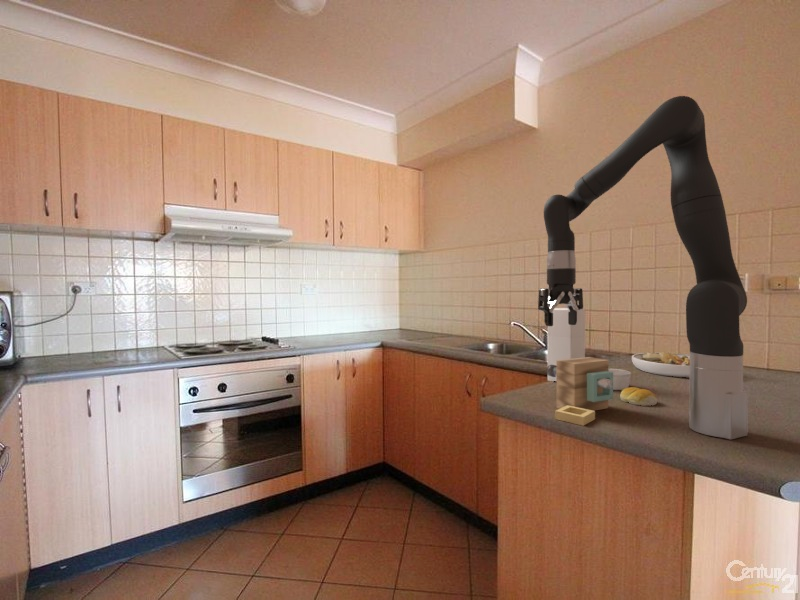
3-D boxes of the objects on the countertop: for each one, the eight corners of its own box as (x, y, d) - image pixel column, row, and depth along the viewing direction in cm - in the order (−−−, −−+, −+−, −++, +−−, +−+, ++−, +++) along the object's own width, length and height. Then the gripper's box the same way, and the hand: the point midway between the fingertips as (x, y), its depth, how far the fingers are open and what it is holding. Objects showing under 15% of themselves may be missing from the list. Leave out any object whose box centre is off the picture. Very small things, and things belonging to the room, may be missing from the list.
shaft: (613, 390, 99) (613, 376, 99) (603, 391, 98) (603, 378, 98) (555, 375, 117) (555, 364, 117) (546, 376, 116) (546, 365, 116)
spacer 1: (595, 419, 97) (595, 410, 97) (583, 425, 92) (583, 417, 92) (567, 412, 102) (567, 405, 102) (555, 419, 97) (555, 410, 97)
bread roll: (636, 397, 117) (636, 383, 117) (663, 405, 109) (663, 390, 108) (612, 399, 115) (612, 385, 115) (637, 407, 107) (637, 392, 107)
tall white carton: (571, 385, 131) (571, 309, 130) (547, 380, 138) (547, 308, 137) (585, 381, 136) (585, 308, 136) (561, 377, 143) (561, 307, 143)
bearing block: (608, 408, 106) (608, 360, 106) (574, 413, 101) (574, 364, 101) (589, 402, 111) (589, 356, 111) (556, 407, 107) (556, 360, 106)
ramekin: (609, 382, 136) (609, 366, 136) (639, 389, 126) (639, 372, 125) (584, 385, 132) (584, 369, 132) (613, 393, 122) (613, 375, 121)
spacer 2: (613, 398, 101) (613, 372, 101) (593, 402, 99) (593, 374, 99) (606, 397, 103) (606, 370, 103) (586, 400, 101) (586, 373, 100)
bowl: (620, 371, 153) (620, 351, 153) (645, 362, 174) (645, 343, 174) (719, 384, 131) (719, 361, 131) (734, 371, 152) (734, 351, 152)
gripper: (551, 266, 106) (551, 327, 106) (590, 267, 112) (590, 325, 112) (531, 268, 113) (531, 325, 113) (569, 268, 118) (569, 323, 119)
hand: (560, 325), depth 113 cm, fingers open, 8 cm apart
